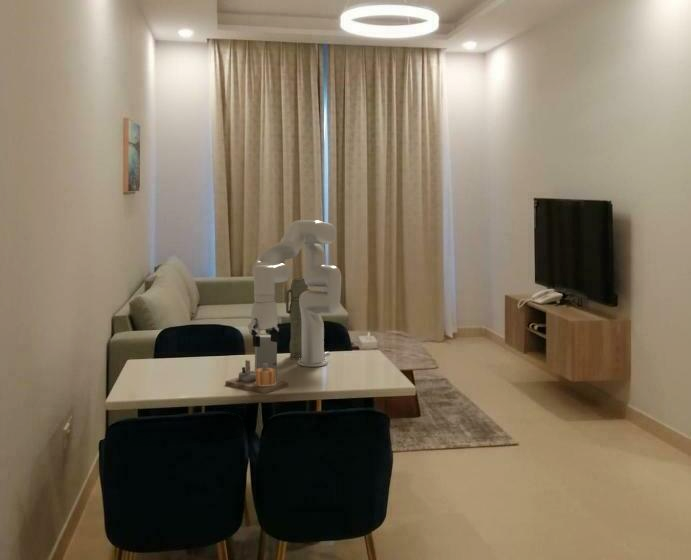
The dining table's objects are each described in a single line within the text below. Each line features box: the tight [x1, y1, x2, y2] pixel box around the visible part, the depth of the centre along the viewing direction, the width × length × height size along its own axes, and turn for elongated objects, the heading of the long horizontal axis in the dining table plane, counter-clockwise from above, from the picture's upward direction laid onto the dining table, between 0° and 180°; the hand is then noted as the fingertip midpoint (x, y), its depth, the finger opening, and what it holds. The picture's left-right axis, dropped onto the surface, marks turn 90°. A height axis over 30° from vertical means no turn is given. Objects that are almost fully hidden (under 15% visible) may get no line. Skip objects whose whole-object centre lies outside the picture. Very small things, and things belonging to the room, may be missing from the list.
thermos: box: [285, 278, 310, 360], centre depth 307 cm, size 9×12×35 cm
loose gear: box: [256, 368, 276, 386], centre depth 257 cm, size 7×7×5 cm
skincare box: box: [254, 334, 278, 376], centre depth 277 cm, size 8×7×16 cm
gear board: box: [224, 359, 289, 394], centre depth 260 cm, size 20×13×9 cm, turn 54°
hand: (265, 344), depth 256 cm, fingers open, 9 cm apart
